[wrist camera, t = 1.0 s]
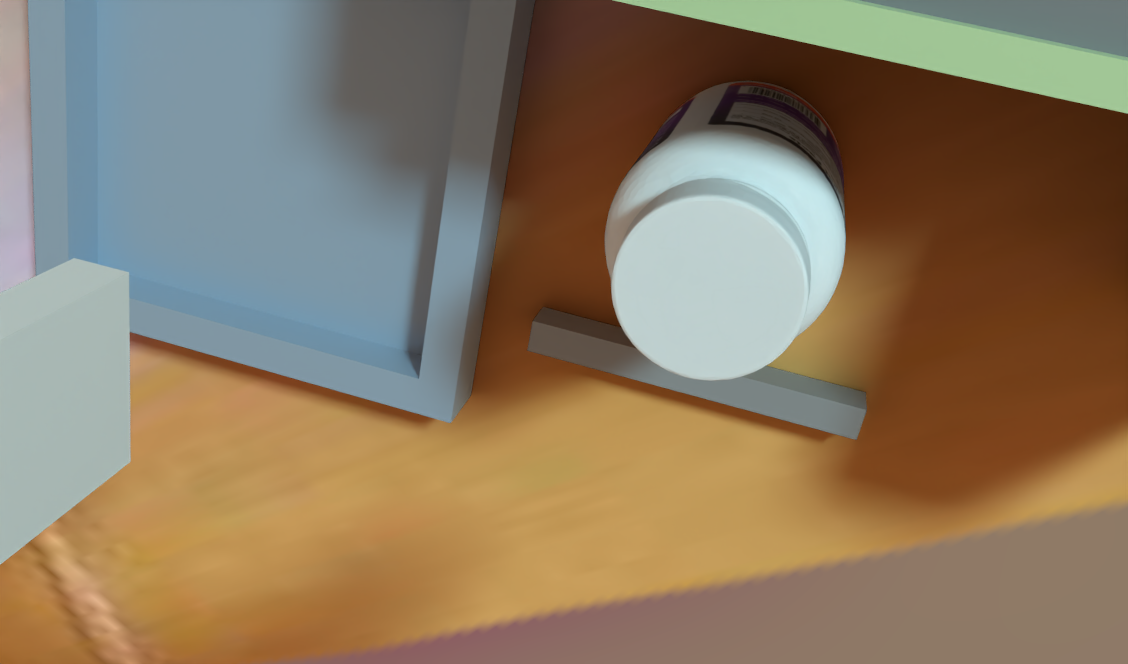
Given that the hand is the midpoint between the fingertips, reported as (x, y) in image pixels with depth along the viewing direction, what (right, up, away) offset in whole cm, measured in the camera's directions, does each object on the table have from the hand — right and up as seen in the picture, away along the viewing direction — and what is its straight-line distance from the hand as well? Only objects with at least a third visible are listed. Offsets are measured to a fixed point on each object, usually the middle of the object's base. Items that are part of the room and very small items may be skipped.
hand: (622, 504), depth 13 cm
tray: (-9, +8, +20) cm, 24 cm away
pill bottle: (+5, +6, +18) cm, 20 cm away
